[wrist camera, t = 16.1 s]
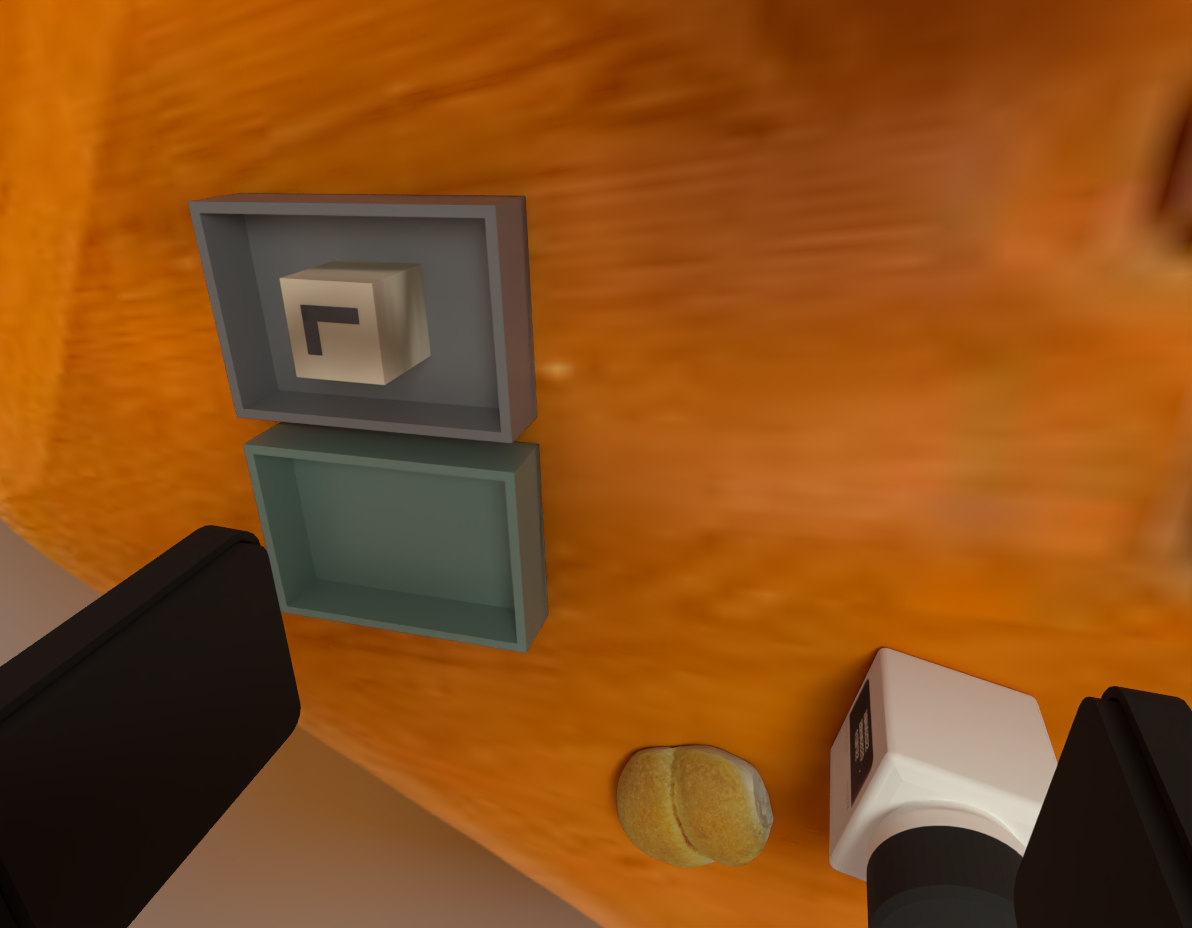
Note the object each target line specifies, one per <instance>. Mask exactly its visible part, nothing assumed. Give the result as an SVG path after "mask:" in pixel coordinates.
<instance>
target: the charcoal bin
mask: <svg viewBox="0 0 1192 928" xmlns="http://www.w3.org/2000/svg"><path fill="white" fill-rule="evenodd" d="M188 205H189V209H190V214H191V218H192V222H193V227H194V231H195V236H196V240H197V244H198V249H199V253H200V258H201V262H202V266H203V271H204V275H205V280H206V284H207V288H208V293H209V297H210V302H211V306H212V310H213V315H214V319H215V324H216V328H217V332H218V337H219V341H220V346H221V350H222V354H223V359H224V363H225V368H226V372H227V376H228V381H229V385H230V390H231V394H232V398H233V403H234V407H235V412H236V416H237V417H239V418H249V419H260V420H271V421H281V422H292V423H302V424H313V425H323V426H334V427H344V428H355V429H365V430H376V431H386V432H397V433H407V434H418V435H428V436H439V437H450V438H460V439H471V440H481V441H492V442H502V443H513V442H514V441H515V440H516V439H517V438H518V437H519V435H520V434H521V433H522V432H523V431H524V430H525V429H526V428H527V427H528V426H529V425H530V424H531V423H532V422H533V421H534V420H535V418H536V417H537V401H536V382H535V364H534V346H533V328H532V309H531V291H530V273H529V255H528V236H527V218H526V200H525V196H472V195H369V194H266V193H238V194H231V195H225V196H219V197H213V198H206V199H200V200H194V201H188ZM334 260H357V261H377V262H398V263H418V264H422V274H423V284H424V294H425V304H426V314H427V324H428V334H429V344H430V354H431V356H430V357H428V358H427V359H425V360H423V361H422V362H420V363H419V364H417V365H416V366H414V367H412V368H411V369H409V370H408V371H406V372H405V373H403V374H401V375H400V376H398V377H397V378H395V379H394V380H392V381H390V382H389V383H387V384H386V385H379V384H368V383H357V382H346V381H335V380H324V379H313V378H302V377H297V375H296V369H295V364H294V358H293V352H292V347H291V341H290V335H289V330H288V324H287V318H286V313H285V307H284V301H283V296H282V290H281V284H280V279H279V278H282V277H285V276H288V275H291V274H294V273H297V272H300V271H303V270H306V269H310V268H313V267H316V266H319V265H322V264H325V263H328V262H331V261H334Z"/></svg>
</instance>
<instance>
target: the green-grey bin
mask: <svg viewBox="0 0 1192 928" xmlns="http://www.w3.org/2000/svg"><path fill="white" fill-rule="evenodd" d="M243 447H244V451H245V456H246V460H247V464H248V469H249V473H250V478H251V482H252V486H253V491H254V495H255V500H256V504H257V508H258V513H259V517H260V522H261V526H262V530H263V535H264V539H265V544H266V548H267V553H268V555H269V559H270V564H271V569H272V573H273V578H274V583H275V587H276V592H277V597H278V601H279V605H280V610H281V612H283V613H289V614H295V615H301V616H307V617H313V618H319V619H325V620H331V621H337V622H343V623H349V624H355V625H361V626H367V627H373V628H379V629H385V630H391V631H397V632H403V633H409V634H415V635H421V636H427V637H433V638H439V639H445V640H451V641H457V642H463V643H469V644H475V645H481V646H487V647H493V648H499V649H505V650H511V651H517V652H523V653H527V652H528V650H529V648H530V646H531V645H532V643H533V641H534V639H535V638H536V636H537V634H538V632H539V630H540V629H541V627H542V625H543V623H544V621H545V620H546V618H547V616H548V601H547V583H546V565H545V546H544V528H543V510H542V492H541V473H540V455H539V444H534V443H523V442H513V443H502V442H492V441H481V440H471V439H460V438H450V437H439V436H428V435H418V434H407V433H397V432H386V431H376V430H365V429H355V428H344V427H334V426H323V425H313V424H302V423H292V422H280V423H279V424H277V425H275V426H273V427H272V428H270V429H268V430H267V431H265V432H263V433H261V434H260V435H258V436H256V437H255V438H253V439H251V440H249V441H248V442H246V443H244V444H243Z"/></svg>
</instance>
